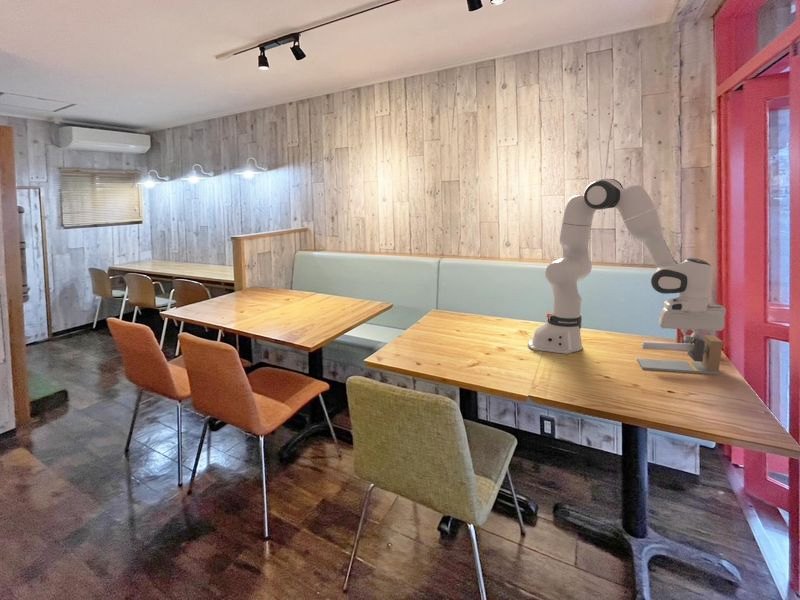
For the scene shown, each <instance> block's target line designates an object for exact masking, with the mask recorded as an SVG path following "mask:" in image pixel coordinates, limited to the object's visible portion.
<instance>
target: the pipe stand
mask: <svg viewBox="0 0 800 600" xmlns="http://www.w3.org/2000/svg"><path fill="white" fill-rule="evenodd" d="M703 340H704V341H705V346H704V353H703V361H702V362H699V361H689V360H688V361H685V360H684V361H681V360H667V359H665V360H664V359H649V358H637V359H636V361H637V363H638V364H639V366H640V368H641V369H642V370H646V371H647V370H648V371H649V370H651V371H662V372H677V373H691V374H693V373H694V374H704V375H705V374H706V375H719V376H720V375H721V371H720V364H721V356H722V349H723V343H724V341H723V340H721V339H720V338H719V337H717V336H716V335H712V334H711V335H710V334H709V335H708V334H707V335H706V334H704V335H703ZM694 346H695V344H694V343H693V344H689V343H675V342H667V341H652V340H651V341H649V340H643V341H642V343H641V347H642V349H643V350H655V351H671V352H687V353H688V352H694Z"/></svg>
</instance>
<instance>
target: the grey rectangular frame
mask: <svg viewBox="0 0 800 600" xmlns="http://www.w3.org/2000/svg"><path fill="white" fill-rule="evenodd" d="M693 343H694V344H695V346H694V352H687V355H688V356H689V357H690V358H691V360H693V362H700V363H701V362H702V361H703V353H704V346H705V341H704V338H701V336H699V335H698V334H697V335H696V336H695V337H694V341H689V344H693Z"/></svg>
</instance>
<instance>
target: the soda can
mask: <svg viewBox="0 0 800 600" xmlns="http://www.w3.org/2000/svg"><path fill="white" fill-rule="evenodd" d="M685 333H686V335H691V334H692V333H693V331H692V330H690V329H687V332H685ZM674 343H689V341H684V335H683V333H682V331H681V329H676V332H675V342H674Z"/></svg>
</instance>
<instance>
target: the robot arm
mask: <svg viewBox="0 0 800 600" xmlns="http://www.w3.org/2000/svg"><path fill="white" fill-rule="evenodd" d="M613 208H615V209H617V211H618V212H619V213H620V215H621V217H622V221H623V223H624V225H625V227H626V229H627V231H628V232H629V233H630V235H631V236H632V238H634V239H636V240H638V241H640V242H641V243H642V244H644V246H645V247H646V249H647V250H648V253H649V254H650V256H651V259H652V261H653V263H654V266H655V272H654V273H653V274H652V276H651V279H650V283H651V286H652V288H653V290H654V291H656V292H658V293H660V294H665V295H666V294H667V295H669V294H679V296H678V297H674V298H670V299H666V300H664V302H663V306H664V307H662V308H661V310H660V313H659V317H658V323H657V324H658V325H659V327H661V329H666V330H667V329H668V330H669V329H671V330H672V329H673V330H677V329H681V331H682V333H683V335H684V341H694V337H695V336H696V335H698V334H699V331H714V332H715V331H717V332H718V331H719V332H721V331H723V330H724V328H725V316H726V312H727V308H726V307H725V306H723V305H722V304H709V299H710V298H709V297H710V295H709V290H710V287H711V285H712V266H711V264H710V263H709V262H708V261H705V260H702V259H699V258H691V257H690V258H686V259H685V260H682V261H681V262H677V261H676V260H675V259H674V257H673V256H672V253H671V251H670V249H669V247H668V244H667V243H666V240H665V239H664V235H663V234H664V233H663V230H662V225H661V220H660V217H659V213H658V211H657V208H656V206H655V204H654V202H653V200H652V198H651V196H650V195H649V193H648V191H647V190H646V189H645V188H644V186H641V185H638V184H637V185H636V184H634V185H629V186H627V187H623V184H622V183H621V182H620V181H618V180H617V179H614V178H601V179H598V180H594V181H592V182H591V183H590V184H588V186H587V187H586V188H585V191H584V193H583V194H577V195H573V196H571V197H570V198H569V199H568V201H567V203H566V206H565V209H564V213H563V217H562V223H561V228H560V229H561V230H560V236H559V243H560V245H561V247H562V258H558V259H556V260H554V261H552V262H551V263H550V264H549V265H547V267H546V268H545V271H544V273H545V278H546V281H548V283H550V286H551V291H552V297H553V298H552V299H553V300H552V301H553V304H552V305H553V307H552V313H551V312H547V313H546V318H547V322H545V323H544V324H543V325H541V326H539V327H538V328H536V329H535V331H534V334H533V337H531V338H529V340H528V342H527V346H528V348H530V350H534V351H540V352H547V353H548V352H550V353H556V354H557V353H558V354H566V355H568V354H571V353H573V352H574V353H575V352H579V351H581V350H583V347H584V346H583V343H582V335H581V329H582V324H583V317H582V315H581V314H582V313H581V312H582V296H581V294H579V290H578V282H579V281H582V280H584V279H585V278H587V276H589V275H590V273H591V272H592V269H593V268H592V267H593V265H592V264H593V263H592V262H591V260H590V255H589V254H590V253H589V243H590V235H591V230H592V224H593V219H594V214H595V213H596V211H597V210H599V211H600V210H606V209H613ZM687 329H690V330H692V331H693V333H692V334H691V335H686V333H685V332H687Z"/></svg>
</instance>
